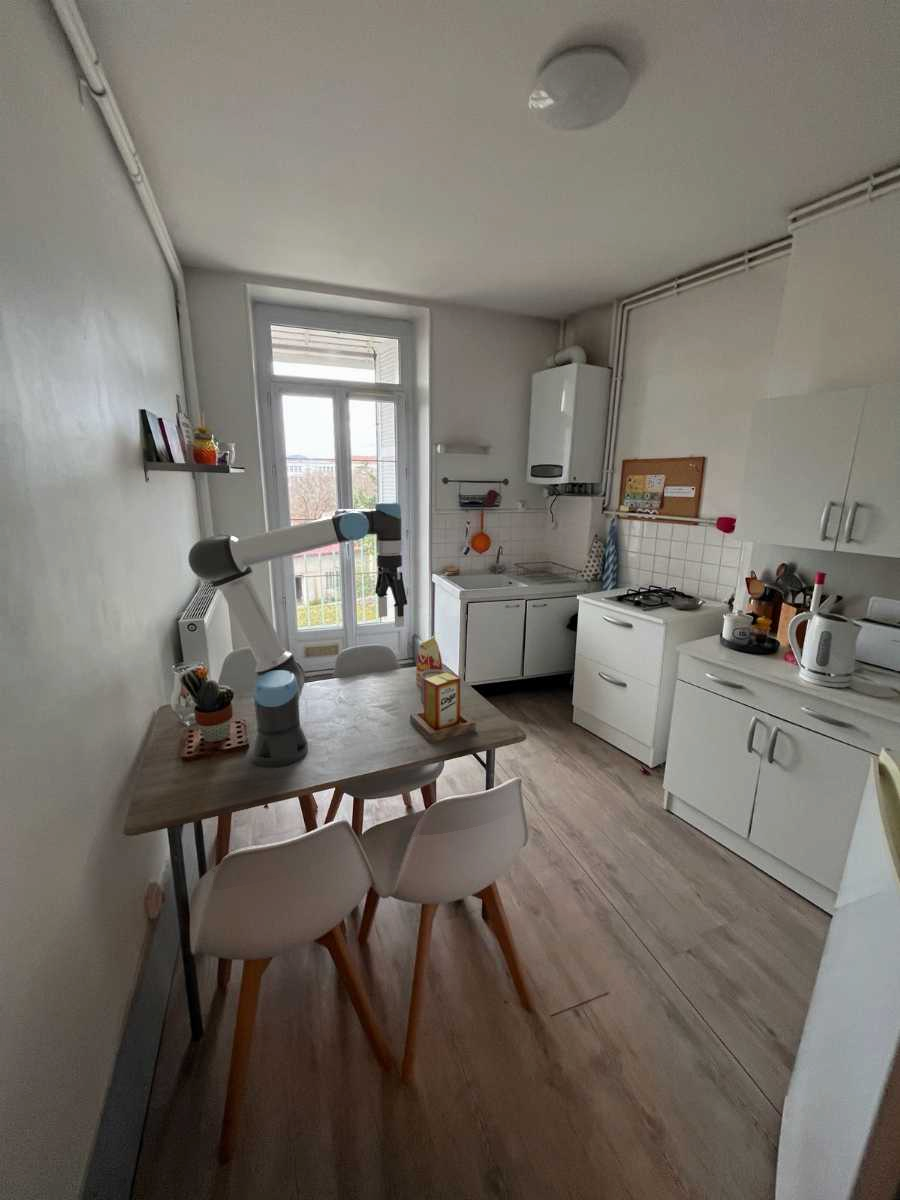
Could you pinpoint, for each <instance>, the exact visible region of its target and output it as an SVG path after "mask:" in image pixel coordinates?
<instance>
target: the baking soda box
mask: <svg viewBox="0 0 900 1200" xmlns="http://www.w3.org/2000/svg"><path fill="white" fill-rule="evenodd" d="M446 672H447V673H443V674H440V675H436V676H433V677H429V678H426V679H424V703H423V707H424V710H423V711H424V721H425V722H426V723H427V724H428V725H429V726H430V727H431V728H432V729H434V730H435V731H437V730H441V729H444V728H448V727H451V726H454V725H456V724H459V723H460V711H461V677H459V676H457V675H455V674H453V673H450V672H448V671H446Z"/></svg>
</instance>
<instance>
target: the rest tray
mask: <svg viewBox="0 0 900 1200" xmlns="http://www.w3.org/2000/svg"><path fill="white" fill-rule="evenodd" d="M409 721H410V722H409V723H410V724H411V725H412V726H413V727H414V728H415V729H416V730H417V731H418V732H419V733H420V735H422V736H423V737H424V738H425V739H426V740H427V741H428V742H429V743H431V744H432V743H435V742H440V741H443V740H446V739H450V738H454V737H458V736H461V735H465V734H468V733H472V732H476V721H475V720H473V719H472V718H471V717H470V716H468V715H467V714H465V713H464V712H463V711H462V710H460V723H459V724H456V725H454V726H451V727H448V728H444V729H441V730H437V731H435V730H434V729H432V728H431V727H430V726H429V725H428V724H427V723H426V722H425V721H424V710H422V711H419V712H414V713H411V714H409Z"/></svg>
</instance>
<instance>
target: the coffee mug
mask: <svg viewBox="0 0 900 1200" xmlns="http://www.w3.org/2000/svg"><path fill="white" fill-rule="evenodd" d="M447 672H448V671H446V670H444V669H443V670H436V669H434V670H426V671H424V672H422V673H421V687H420V702H421V703H422V704H424V679H426V678H429V677H433V676H436V675H440V674H443V673H447Z"/></svg>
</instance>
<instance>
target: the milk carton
mask: <svg viewBox="0 0 900 1200" xmlns="http://www.w3.org/2000/svg"><path fill="white" fill-rule="evenodd" d="M420 644H421V645H419V646H418V652H417V659H416V671H415V684H416V683H417V684H418V685H419V686H420V688H421V673H422V672H424V671H426V670H434V669H436V670H443V671H444V665H443V660H442V655H441V651H440V648H439V645H438V642H437V641H436V635H433V636H431V637H430V638H428V639H427V640H425V641H423V642H420ZM417 684H416V685H417ZM418 685H417V686H418ZM419 686H418V687H419Z"/></svg>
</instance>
